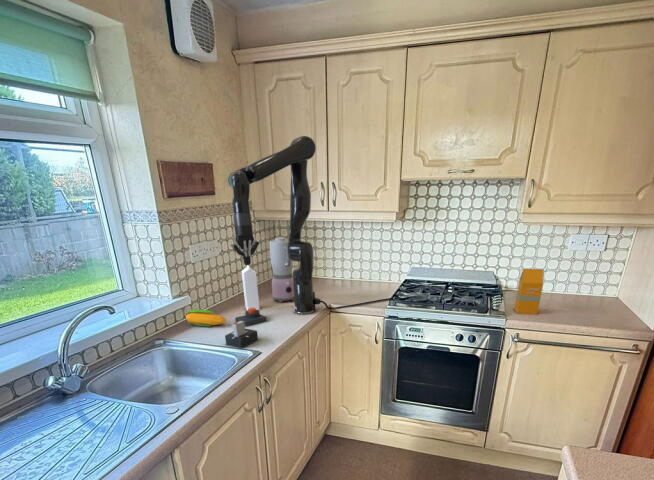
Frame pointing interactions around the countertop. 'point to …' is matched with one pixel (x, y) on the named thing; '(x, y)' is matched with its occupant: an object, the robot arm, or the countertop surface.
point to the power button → (252, 310)
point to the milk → (250, 288)
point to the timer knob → (238, 328)
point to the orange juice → (529, 291)
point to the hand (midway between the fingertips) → (247, 264)
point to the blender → (281, 270)
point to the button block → (251, 318)
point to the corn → (204, 318)
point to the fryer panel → (241, 338)
